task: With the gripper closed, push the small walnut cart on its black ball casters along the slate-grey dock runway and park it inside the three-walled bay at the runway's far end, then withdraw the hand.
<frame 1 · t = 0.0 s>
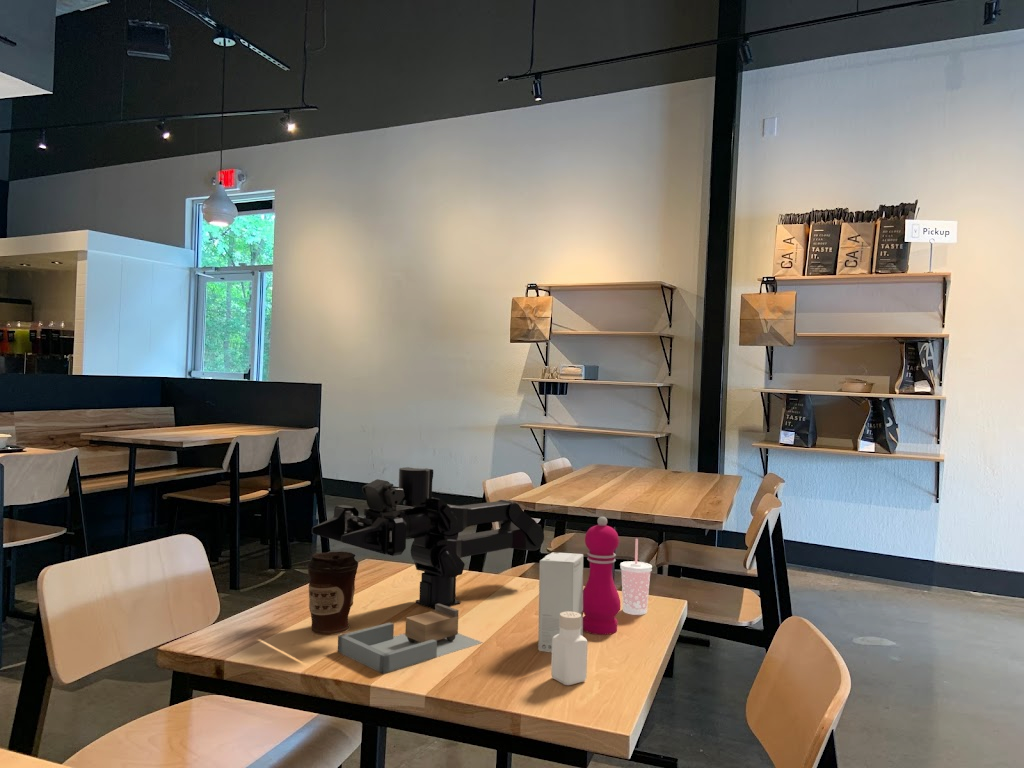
hand: (326, 534, 123), 17 cm above the table, tool horizontal, fingers open, 9 cm apart
coffee cup: (330, 632, 124), on the table
pepper mill: (599, 630, 129), on the table
cart: (431, 641, 119), resting on dock
dock: (412, 648, 116), on the table
beverage cup: (634, 612, 141), on the table
skincare box: (560, 647, 120), on the table
salt shaker: (568, 681, 106), on the table
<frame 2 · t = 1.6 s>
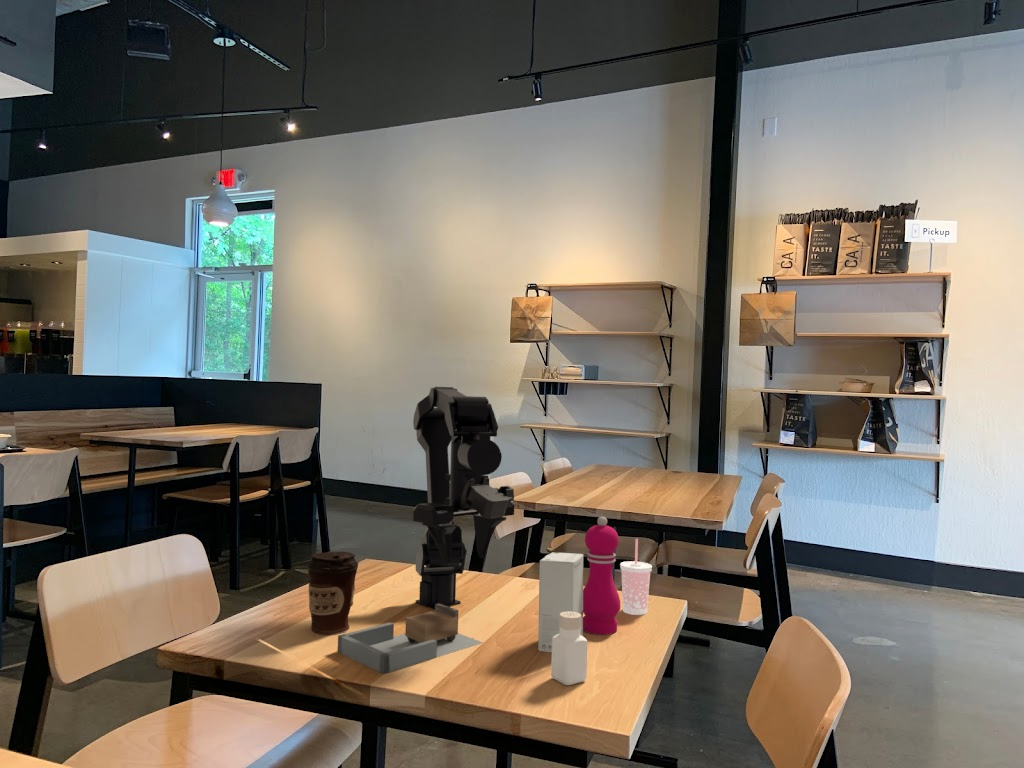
hand: (464, 560, 124), 13 cm above the table, tool pointing down, fingers open, 8 cm apart
nothing on the table moved.
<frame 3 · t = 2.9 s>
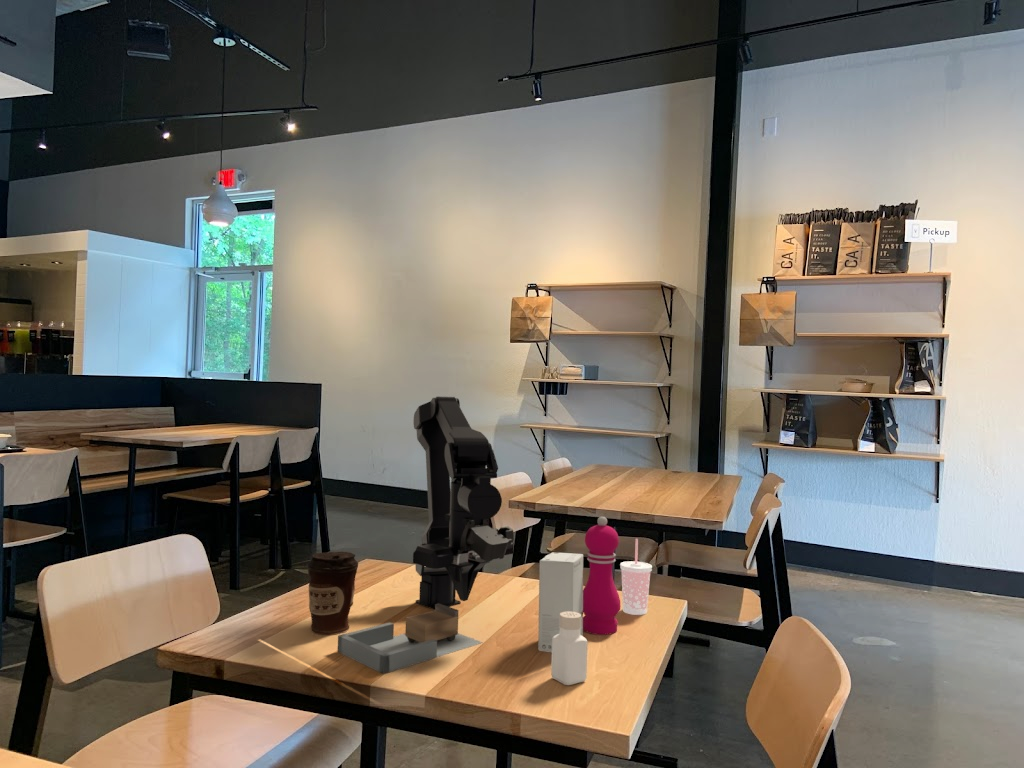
hand: (463, 600, 125), 6 cm above the table, tool pointing down, fingers closed
nothing on the table moved.
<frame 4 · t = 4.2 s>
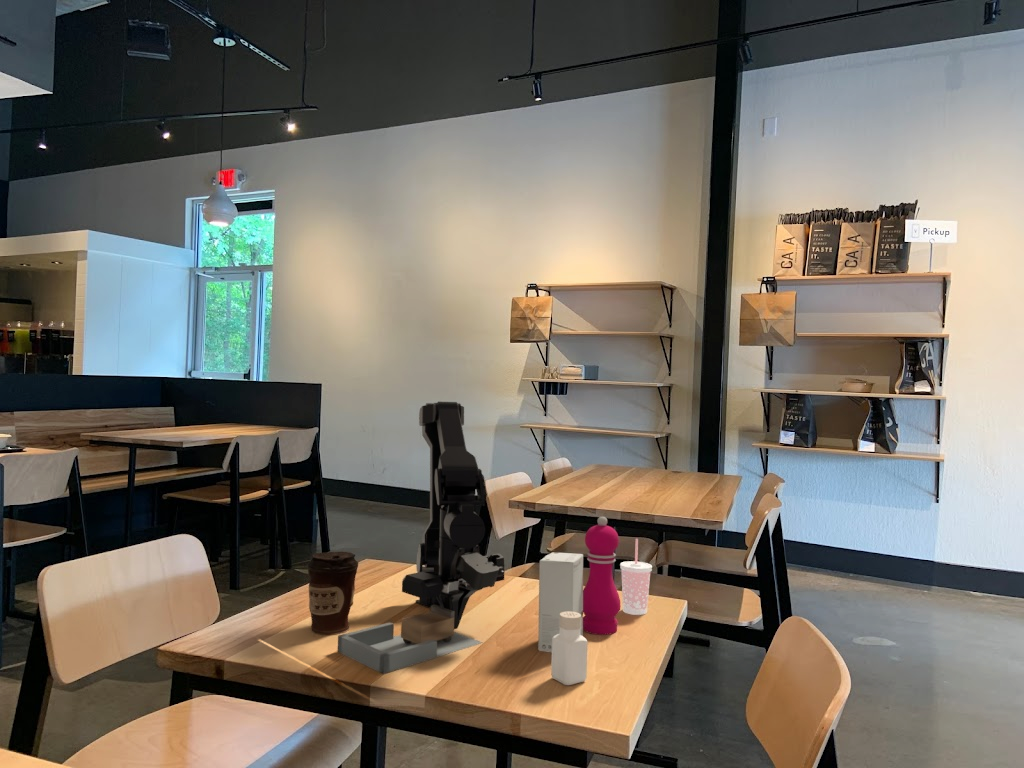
hand: (453, 628, 123), 1 cm above the table, tool pointing down, fingers closed
cart: (427, 642, 119), resting on dock, touching gripper
everything else where it was.
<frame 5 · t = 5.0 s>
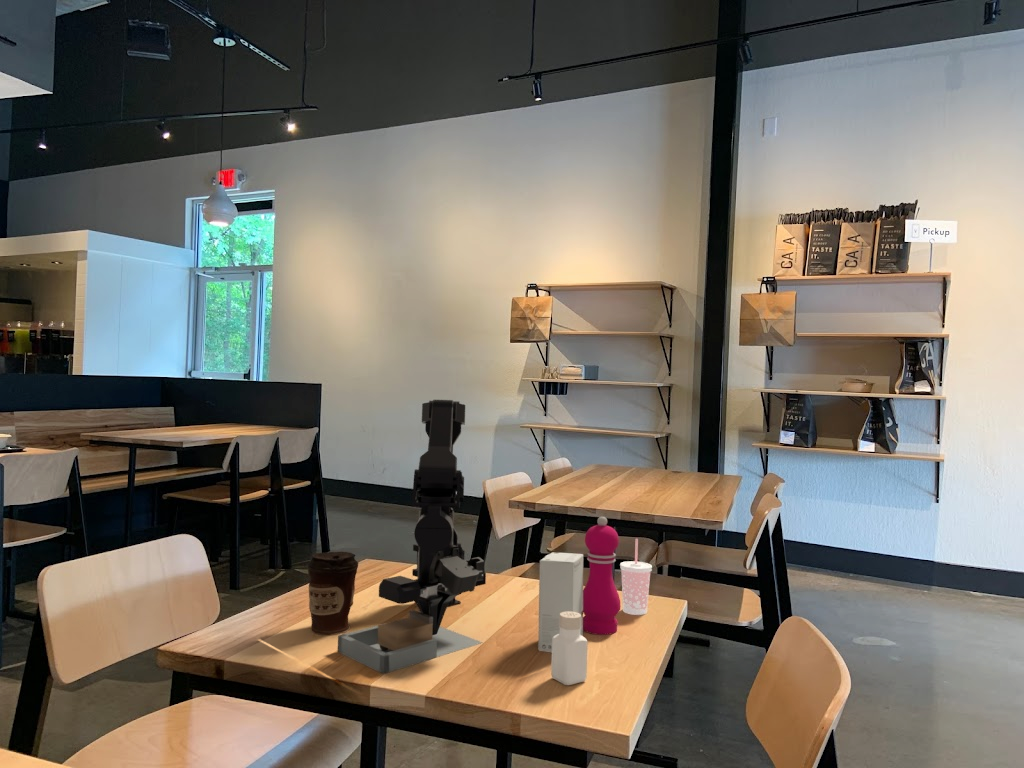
hand: (433, 634, 119), 1 cm above the table, tool pointing down, fingers closed
cart: (404, 649, 115), resting on dock, touching gripper
everything else where it was.
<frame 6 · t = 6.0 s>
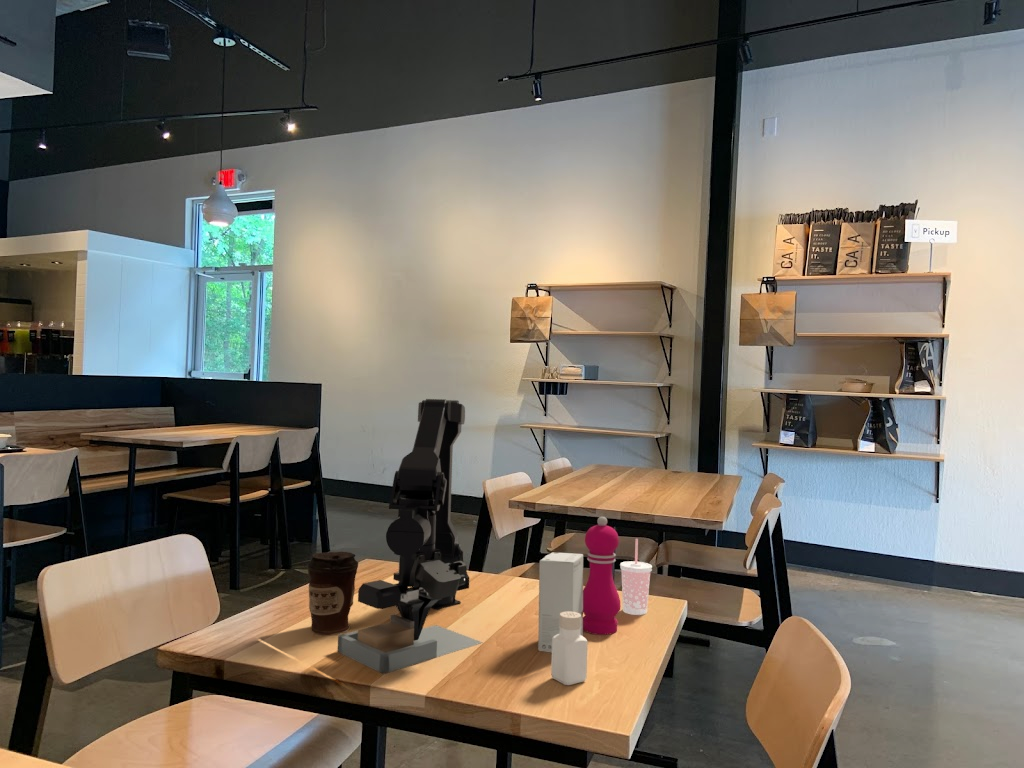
hand: (414, 639, 117), 1 cm above the table, tool pointing down, fingers closed
cart: (385, 655, 113), resting on dock, touching gripper
everything else where it was.
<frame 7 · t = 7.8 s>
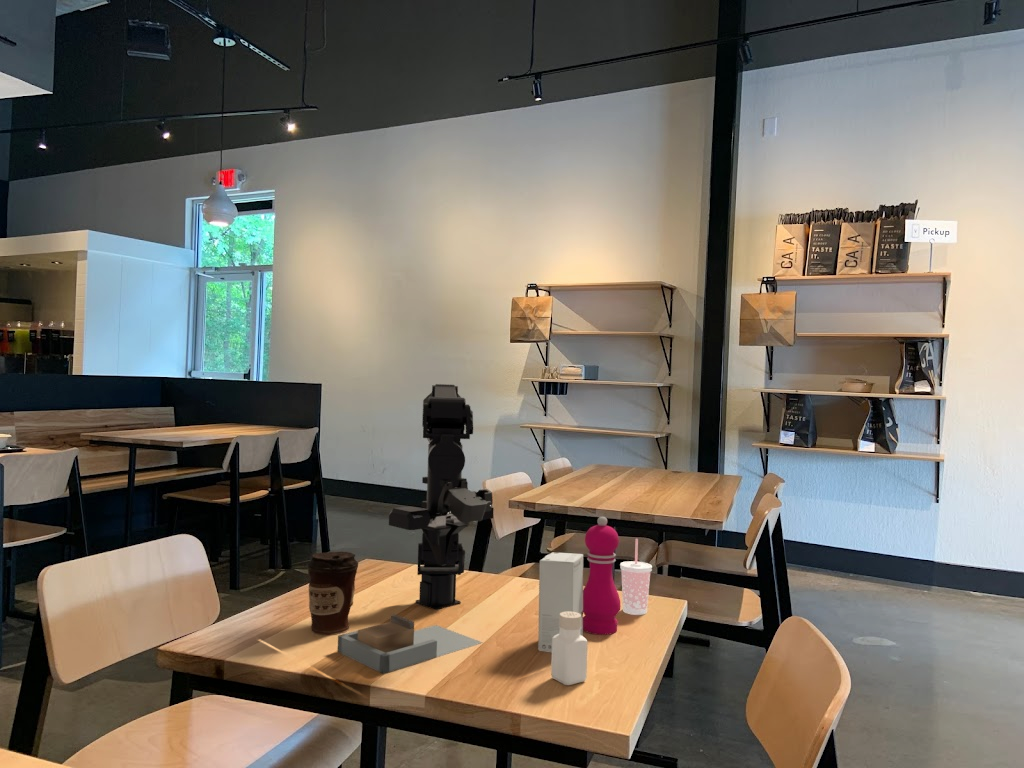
hand: (441, 565, 122), 12 cm above the table, tool pointing down, fingers closed
cart: (385, 655, 113), resting on dock
everything else where it was.
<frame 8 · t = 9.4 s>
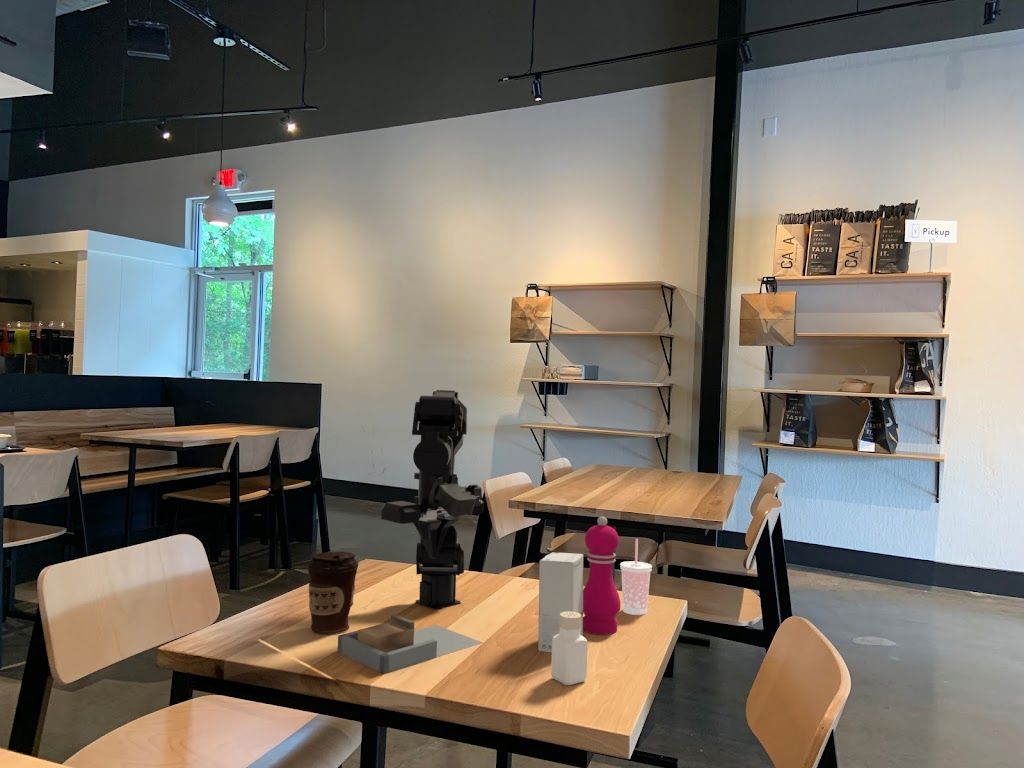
hand: (433, 558, 126), 13 cm above the table, tool pointing down, fingers closed
nothing on the table moved.
at the end: cart 0.3 cm from the target spot, resting on dock; cart tilted 0°; the gripper is holding nothing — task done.
